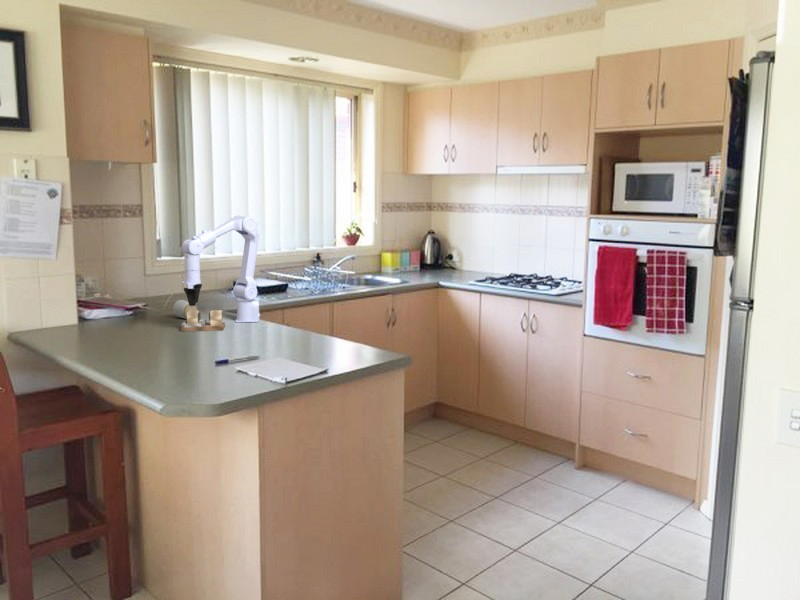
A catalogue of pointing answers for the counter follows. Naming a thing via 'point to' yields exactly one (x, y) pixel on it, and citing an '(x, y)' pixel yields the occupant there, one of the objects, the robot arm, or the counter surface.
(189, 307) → the ceramic mug
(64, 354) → the counter surface
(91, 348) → the counter surface
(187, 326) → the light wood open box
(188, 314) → the tan square block
